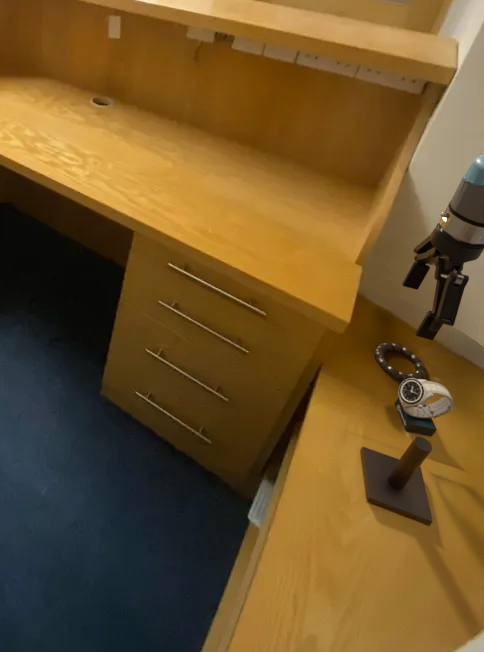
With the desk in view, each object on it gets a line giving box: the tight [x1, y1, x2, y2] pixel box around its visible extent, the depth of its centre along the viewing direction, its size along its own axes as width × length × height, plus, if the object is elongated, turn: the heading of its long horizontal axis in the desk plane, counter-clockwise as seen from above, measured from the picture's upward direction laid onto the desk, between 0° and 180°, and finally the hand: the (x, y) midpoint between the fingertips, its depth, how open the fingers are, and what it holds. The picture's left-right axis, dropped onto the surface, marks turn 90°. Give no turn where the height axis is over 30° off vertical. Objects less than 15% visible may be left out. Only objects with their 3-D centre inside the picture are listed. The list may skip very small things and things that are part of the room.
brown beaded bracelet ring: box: [373, 342, 428, 382], centre depth 107 cm, size 9×9×2 cm
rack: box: [360, 435, 433, 526], centre depth 84 cm, size 9×9×13 cm
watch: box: [394, 378, 455, 437], centre depth 94 cm, size 6×8×11 cm
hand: (416, 310), depth 104 cm, fingers open, 13 cm apart
